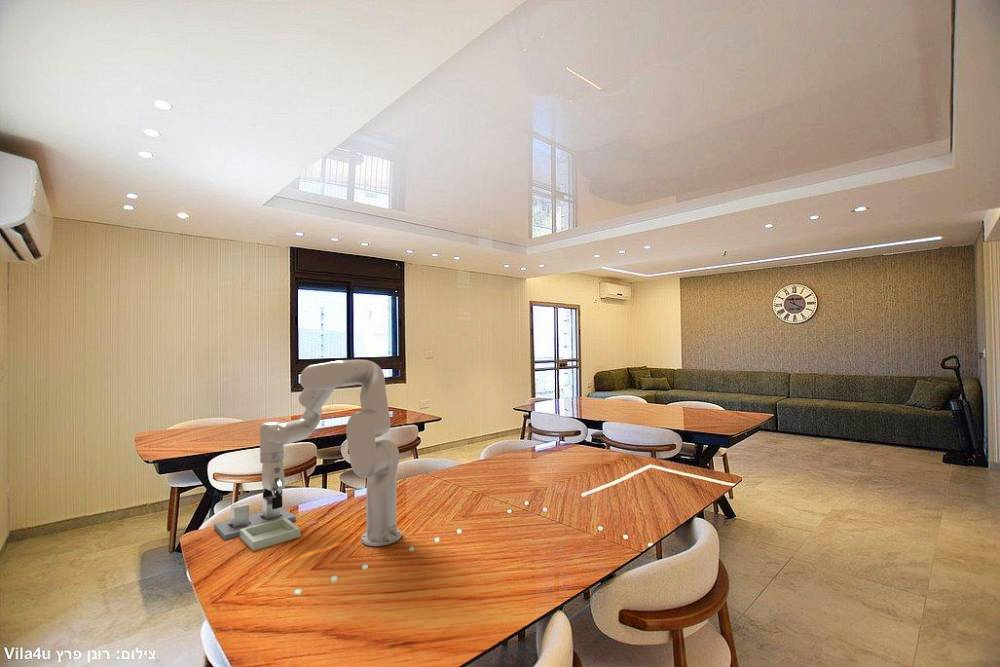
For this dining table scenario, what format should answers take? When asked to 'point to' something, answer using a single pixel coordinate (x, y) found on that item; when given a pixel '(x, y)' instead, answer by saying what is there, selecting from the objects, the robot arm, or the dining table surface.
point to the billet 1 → (239, 515)
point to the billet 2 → (269, 509)
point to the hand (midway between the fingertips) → (272, 505)
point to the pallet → (254, 519)
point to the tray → (269, 533)
